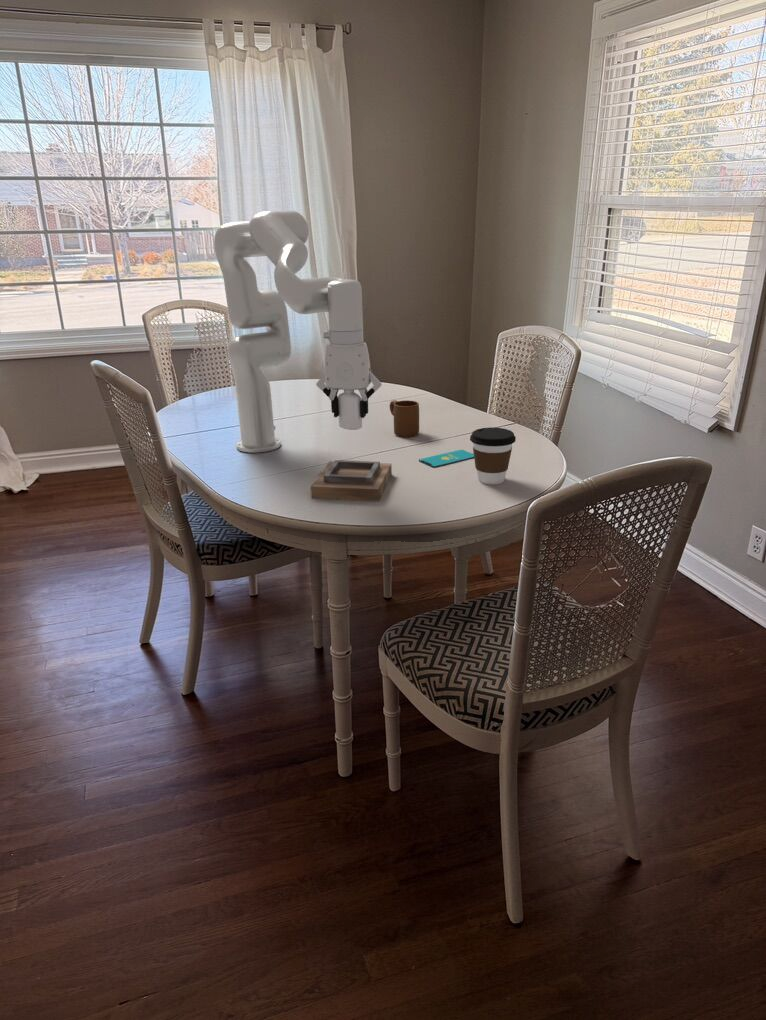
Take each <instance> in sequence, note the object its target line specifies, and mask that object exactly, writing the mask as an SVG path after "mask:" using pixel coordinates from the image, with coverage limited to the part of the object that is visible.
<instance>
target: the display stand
mask: <svg viewBox="0 0 766 1020" xmlns="http://www.w3.org/2000/svg"><path fill="white" fill-rule="evenodd" d="M392 467H393V466H392V463H387V462H385V463H384V462H381V461H370V460H369V461H368V460H366V461H365V460H363V461H362V460H361V461H360V460H342V459H341V460H339V459H337V460H336V459H335V460H334V461H333V460H332V461H331V460H329V461H328V463H327V464H326V465H325V467H324V468H323V470H322V471H321V472H320V473H319V475H318V476H317V477H316V478H315V480H314V481H313V483H312V484H311V485H310V496H311V497H310V498H311V499H321V500H339V501H340V500H341V501H342V500H343V501H360V502H362V501H363V502H379V501H380V499H381V497H382V496H383V493H384V491H385V489H386V487H387V486H388V483H389V481H390V479H391V477H392V475H393V473H392V470H393V469H392Z"/></svg>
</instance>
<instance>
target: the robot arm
mask: <svg viewBox="0 0 766 1020" xmlns="http://www.w3.org/2000/svg"><path fill="white" fill-rule="evenodd" d="M309 231H310V230H309V225H308V223H307V221H306V219H305V217H304V216H303V215H302V213H300V212H298V211H295V210H266V211H261V212H259V213H258V212H257V214H255V215H254V216H253V217H252V218H251V219H250V221H249V220H248V221H233V222H227V223H224V224H222V225H220V226H219V227H218V228H217V229H216V232H215V234H214V240H213V242H214V243H213V246H214V247H213V248H214V249H213V250H214V253H215V257H216V259H217V262H218V263H217V264H218V265H219V268H220V270H221V274H222V277H223V282H224V291H225V298H226V305H227V312H228V317H229V321H230V323H231V325H232V326H233V328H235V329H237V330H251V329H259V328H265V329H266V331H263V332H262V331H261V332H255V333H247V334H241V335H239V336H236V337H234V338H233V339H232V340H230V342H229V344H228V348H227V354H228V358H229V361H230V366H231V369H232V373H233V377H234V385H235V394H236V402H237V410H238V411H237V412H238V421H239V431H240V440H239V441H237V443H236V444H235V446H236V449H237V450H238V451H241V452H244V453H249V454H250V453H251V454H252V453H253V454H254V453H256V454H257V453H266V452H270V451H274V450H276V449H279V448H280V446H281V445H282V442H281V440H280V438H277V437H276V435H275V430H276V426H275V425H274V413H273V401H272V393H271V391H272V390H271V389H272V388H271V384H270V382H269V380H268V378H267V376H266V375H265V374H264V373H263V372H262V369H265V368H272V367H277V366H282V365H285V364H286V363H288V362H289V360H290V359H291V354H292V345H291V336H290V334H291V333H290V326H289V317H288V315H289V314H288V310H287V306H288V307H289V308H290V309H291V310H292V311H293V312H296V313H297V314H299V315H311V314H317V313H327V312H328V325H329V326H328V328H329V330H328V331H327V332H326V331H325V332H323V338H324V339H327V340H328V342H329V343H327V344H326V345H325V346H326V347H325V357H324V374H323V375H322V376H321V377H320V379H319V380H317V382H316V384H315V386H317V388H318V389H320V390H321V391H322V392H323V393H324V394H325V395H326V396H327V398H328V399H329V400H330V406H331V413H332V414H333V418H339V412H338V396H339V390H340V391H341V390H343V391H344V390H354V391H356V390H357V391H358V392H359V396H360V397H361V401H360V414H361V418H362V419H364V418H365V417H366V416H367V414H369V398H371V397H372V395H374V393H375V392H376V391H378V389H380V388H381V387H382V386H383V385H382V382H381V381H380V380H379V379H378V377H377V376H375V375H374V374H373V372H372V369H371V361H370V354H369V349H368V345H367V343H366V342H364V317H363V313H364V312H363V293H362V292H363V291H362V289H363V288H362V285H361V283H360V281H359V280H356V279H346V278H345V279H344V278H341V277H339V276H338V277H337V276H324V277H323V276H322V277H312V278H311V277H309V278H303V279H301V278H300V277H299V276H297V273H298V272H299V271H301V270H302V268H303V267H304V266H305V264H306V262H307V260H308V256H309V253H308V252H309V251H308V247H307V245H306V243H307V241H308V239H309ZM256 257H267V258H268V259H269V261H271V263H272V264H273V265H274V266H275V267H274V271H273V273H274V274H273V275H274V276H273V278H274V279H273V280H274V284H275V288H276V290H277V291H275V290H271V289H265V290H259V287H258V279H257V275H256V272H255V270H254V268H253V267H252V266H251V264H250V262H249V261H248V260H247V259H245V258H256ZM371 383H372V385H373V386H371V388H369V389H368V387H370V386H369V385H370V384H371Z"/></svg>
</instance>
